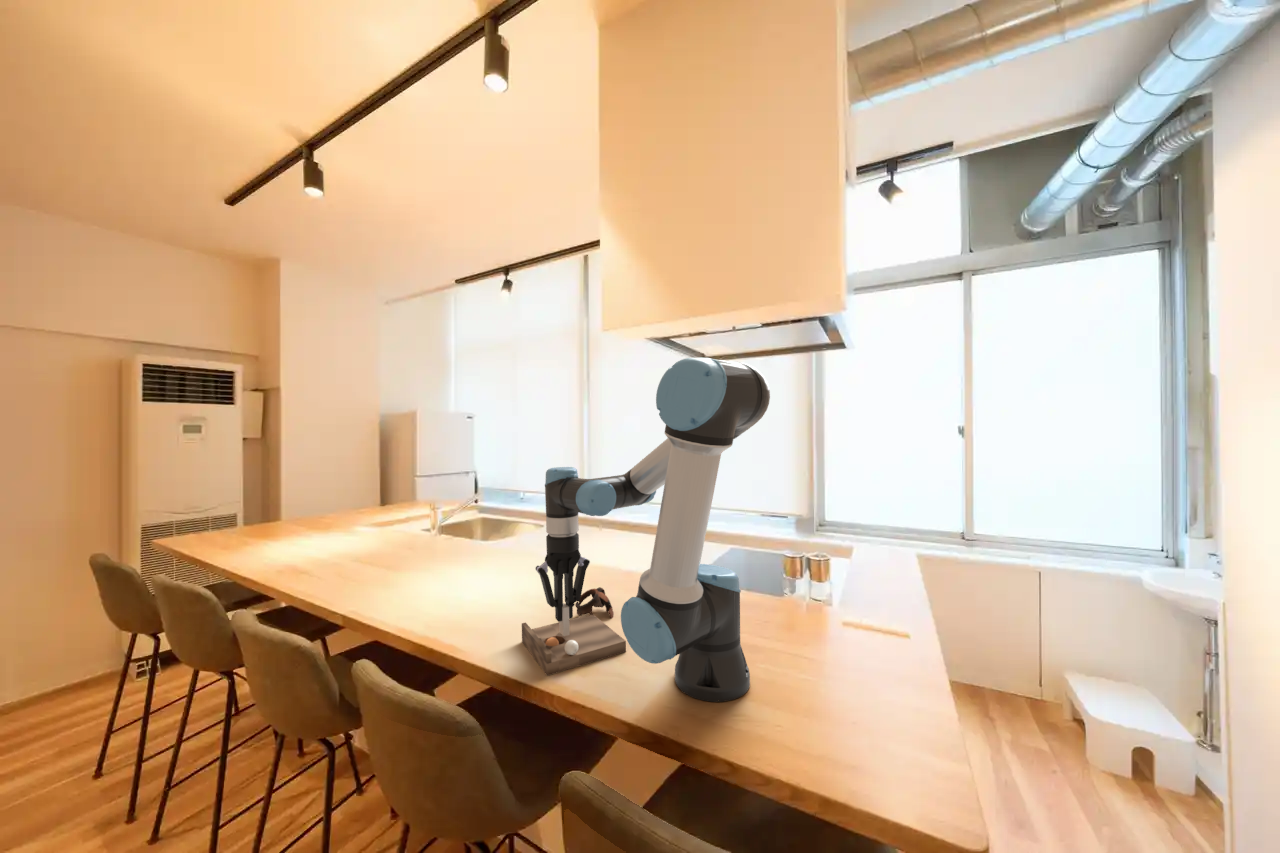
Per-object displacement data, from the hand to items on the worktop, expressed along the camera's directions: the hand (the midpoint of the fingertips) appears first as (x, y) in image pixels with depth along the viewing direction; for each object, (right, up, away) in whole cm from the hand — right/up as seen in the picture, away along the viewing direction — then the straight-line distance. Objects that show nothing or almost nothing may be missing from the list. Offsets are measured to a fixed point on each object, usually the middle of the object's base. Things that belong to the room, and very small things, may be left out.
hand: (564, 633), depth 110 cm
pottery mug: (+6, -4, +19) cm, 20 cm away
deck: (+2, -4, +1) cm, 4 cm away
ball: (-3, -2, -1) cm, 4 cm away
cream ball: (+3, 0, -8) cm, 8 cm away
